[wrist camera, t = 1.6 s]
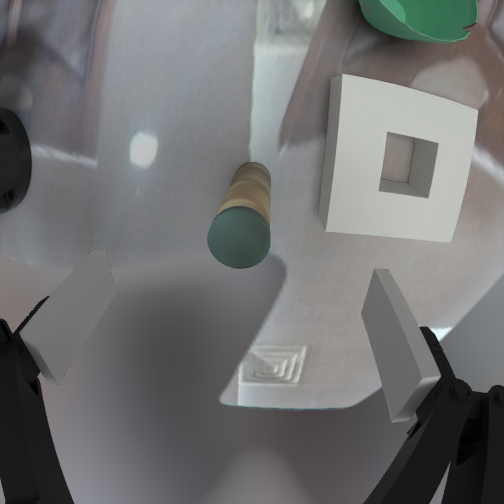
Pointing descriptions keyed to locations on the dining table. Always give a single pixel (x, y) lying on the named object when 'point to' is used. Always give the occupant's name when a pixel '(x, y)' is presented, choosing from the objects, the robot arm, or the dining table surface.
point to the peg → (243, 219)
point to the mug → (422, 18)
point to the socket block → (372, 154)
